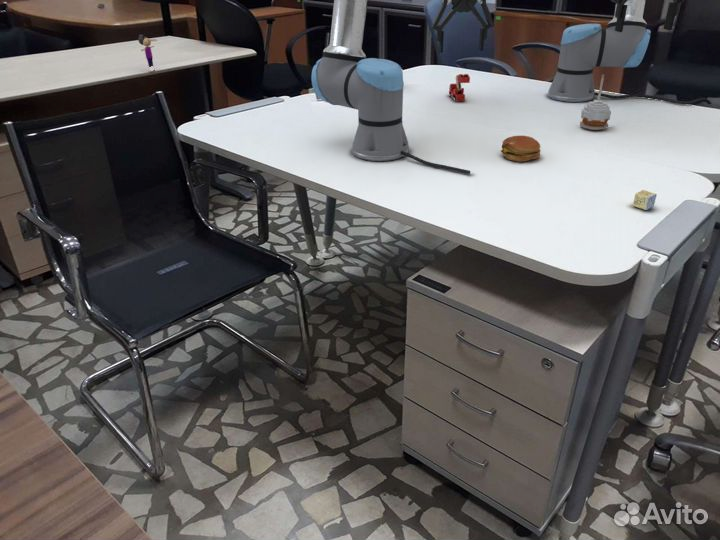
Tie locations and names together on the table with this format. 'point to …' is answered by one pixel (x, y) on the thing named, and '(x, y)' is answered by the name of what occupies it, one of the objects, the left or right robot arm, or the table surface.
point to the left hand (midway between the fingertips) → (460, 50)
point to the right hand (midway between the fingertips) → (642, 30)
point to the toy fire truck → (458, 87)
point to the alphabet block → (644, 200)
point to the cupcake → (596, 113)
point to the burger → (520, 148)
